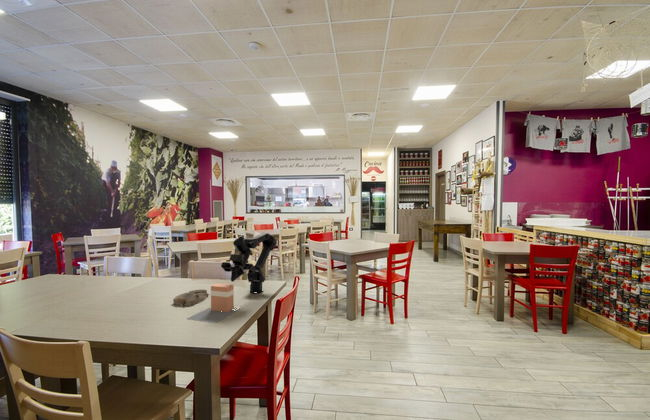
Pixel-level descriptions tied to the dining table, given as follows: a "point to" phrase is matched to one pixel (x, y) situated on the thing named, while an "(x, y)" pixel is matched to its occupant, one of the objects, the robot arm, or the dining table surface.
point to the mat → (211, 315)
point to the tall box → (222, 297)
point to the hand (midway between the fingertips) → (231, 281)
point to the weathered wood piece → (191, 297)
